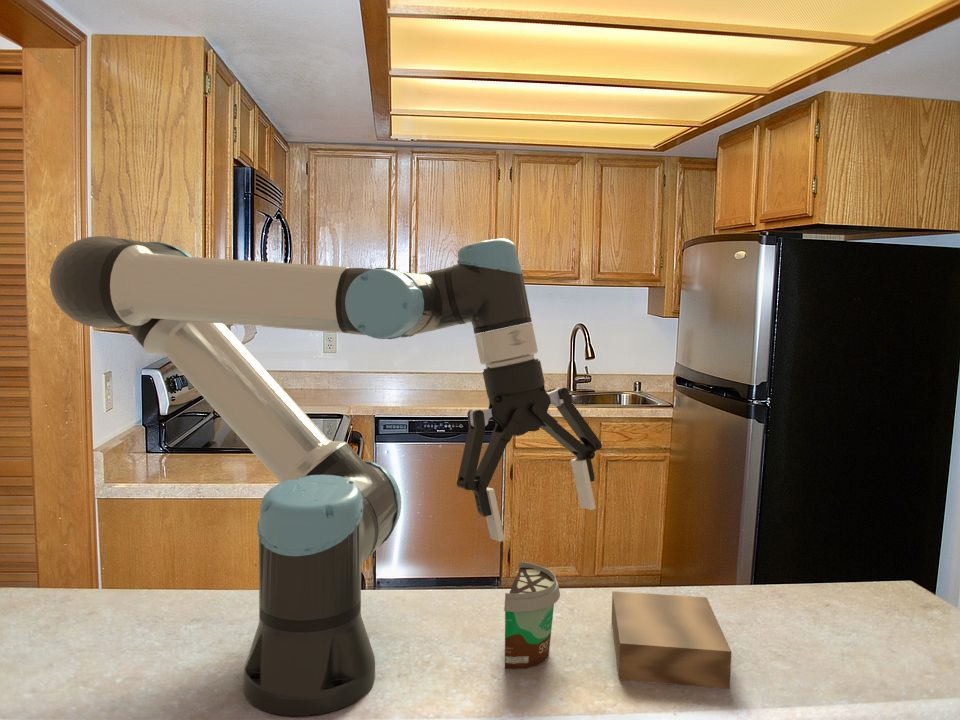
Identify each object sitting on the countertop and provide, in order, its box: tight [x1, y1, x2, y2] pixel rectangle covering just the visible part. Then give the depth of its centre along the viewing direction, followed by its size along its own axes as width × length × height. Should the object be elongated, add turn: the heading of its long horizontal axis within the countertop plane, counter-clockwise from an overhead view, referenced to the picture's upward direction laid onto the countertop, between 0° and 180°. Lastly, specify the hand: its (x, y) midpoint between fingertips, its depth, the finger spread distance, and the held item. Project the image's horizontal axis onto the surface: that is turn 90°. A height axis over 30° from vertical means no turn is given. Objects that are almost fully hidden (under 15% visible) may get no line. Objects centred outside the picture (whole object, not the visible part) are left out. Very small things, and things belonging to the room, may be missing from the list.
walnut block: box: [611, 590, 732, 690], centre depth 96 cm, size 13×16×5 cm
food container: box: [503, 561, 561, 670], centre depth 94 cm, size 12×6×10 cm, turn 168°
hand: (544, 523), depth 94 cm, fingers open, 13 cm apart
